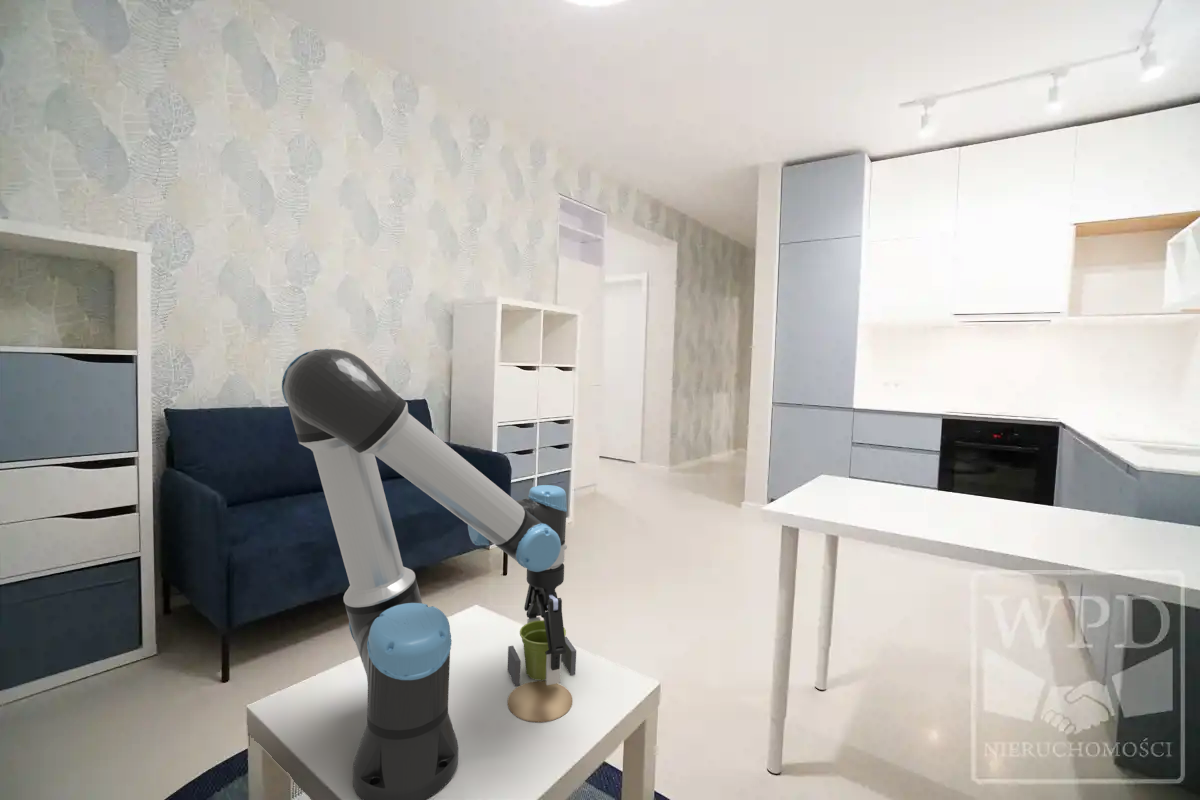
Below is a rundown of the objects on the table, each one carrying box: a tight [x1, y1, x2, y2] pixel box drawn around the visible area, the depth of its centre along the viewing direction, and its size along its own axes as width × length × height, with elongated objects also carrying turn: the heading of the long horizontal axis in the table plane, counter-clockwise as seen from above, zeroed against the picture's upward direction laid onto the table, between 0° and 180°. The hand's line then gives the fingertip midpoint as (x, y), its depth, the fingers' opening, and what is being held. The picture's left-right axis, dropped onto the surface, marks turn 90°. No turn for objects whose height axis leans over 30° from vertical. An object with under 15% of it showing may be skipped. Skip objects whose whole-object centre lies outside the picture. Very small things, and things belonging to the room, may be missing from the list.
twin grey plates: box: [506, 636, 577, 687], centre depth 109 cm, size 13×6×5 cm, turn 113°
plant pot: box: [519, 619, 567, 681], centre depth 109 cm, size 9×9×9 cm
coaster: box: [507, 680, 573, 723], centre depth 99 cm, size 12×12×1 cm
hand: (542, 664), depth 109 cm, fingers open, 13 cm apart
